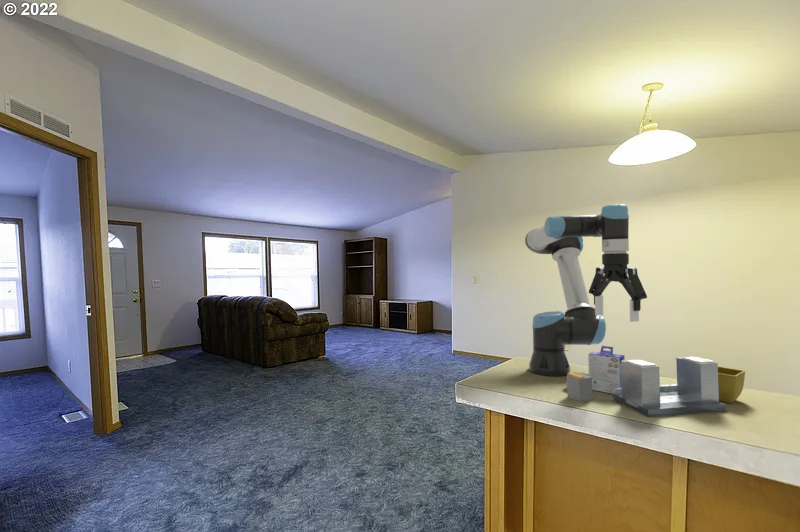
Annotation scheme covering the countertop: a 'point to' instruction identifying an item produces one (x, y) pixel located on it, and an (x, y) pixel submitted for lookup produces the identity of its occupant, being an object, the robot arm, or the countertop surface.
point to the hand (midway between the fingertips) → (615, 318)
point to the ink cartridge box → (605, 370)
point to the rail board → (670, 388)
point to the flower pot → (730, 384)
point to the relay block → (579, 387)
